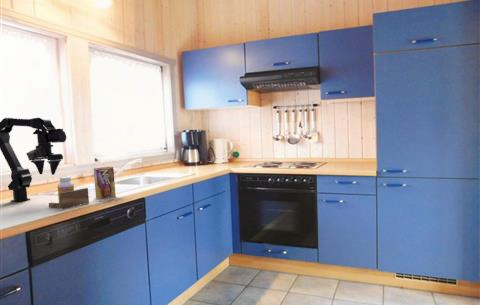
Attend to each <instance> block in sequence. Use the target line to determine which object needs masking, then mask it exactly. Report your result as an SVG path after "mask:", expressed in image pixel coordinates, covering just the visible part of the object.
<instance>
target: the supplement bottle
mask: <svg viewBox="0 0 480 305" xmlns="http://www.w3.org/2000/svg"><path fill="white" fill-rule="evenodd" d="M71 180H72V177H71V176H62V177H59V183H58V184H57V197H58V198H57V199H58V203H60V195H59V193H63V192H68V191H73V190H75V186H74V185H75V184H74V183H73V181H71Z"/></svg>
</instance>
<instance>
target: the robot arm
mask: <svg viewBox="0 0 480 305" xmlns="http://www.w3.org/2000/svg"><path fill="white" fill-rule="evenodd" d="M13 127H27V128H32V129H35V130H34V131H33V133H32V135H36V136H37V137H36V138H37V145H35V149H32V150H29V151H28V152H26V153H25V154H26V156H27V159H28V161H30V163H32V164H34V165H35V167H36V168H37V171H38V173H39V175H43V172H44V166H45V160H47V161H46V162H47V163H48V164H49V167H50V172H51V175H55V173H56V171H57V169H58V167H59V165H60V162H61V161H62V160H64V155H63V154H62V153H54V152H53V151H52V148H53V147H54V144H56V143H65V142H66V140H67V135H66V134H67V133H66V131H64V128H56V127H55V125H54V124H53V123H52V121H51V119H50V118H49V117H32V118H14V117H4V118H2V119H1V121H0V151H1V153H2V156H3V157H4V159H5V161H6V163H7V165H8V167H9V169H10V171H11V172H10V179H11V181H10V183H9V184H8V185H7V188H8V190H9V191H12V196H13V197H12V198H13V199H11V200H9V201H10V202H15V203H18V202H20V203H21V202H25V201H30V200H31V198H30V197H29V198H28V191H27V188H30V187H31V183H32V180H33V177H32V176H33V175H32V174H31V172H30V169H29V168H24V167H23V166H22V165H21V162H20V161H19V160H20V159H19V158H18V156H17V154H16V153H15V152H16V151H14V148H13V147H12V145H11V143H10V139H11V136H10V133H11V132H12V131H13ZM52 143H53V144H52Z"/></svg>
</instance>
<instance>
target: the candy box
mask: <svg viewBox="0 0 480 305" xmlns="http://www.w3.org/2000/svg"><path fill="white" fill-rule="evenodd" d="M114 170H115V169H114V166H103V167H102V166H101V167H93V177H94V191H95V198H96V199H97V198H98V200H99V199H107V198H113V197H116V195H117V194H116V184H115V182H116V180H115V171H114ZM106 197H107V198H106Z"/></svg>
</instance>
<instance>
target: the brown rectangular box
mask: <svg viewBox="0 0 480 305" xmlns="http://www.w3.org/2000/svg"><path fill="white" fill-rule="evenodd" d="M59 195H60V203H59V202H48V208H50V209H59V208H61V209H60V210H65V208H66V209H69V207H70V208H72V207H73V206H74V207H78V206H80V204H82V205H85V204H84V203H86V204H90V197H89V188H88V187H84V188H79V189H74V190H73V191H68V192H63V193H59ZM77 205H78V206H77Z"/></svg>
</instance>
